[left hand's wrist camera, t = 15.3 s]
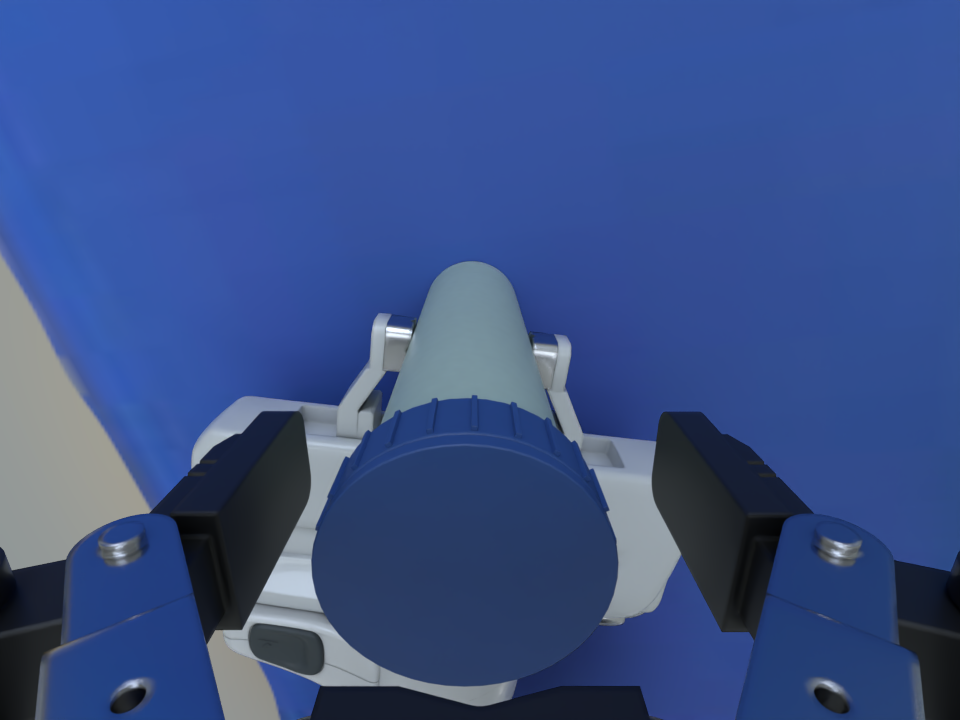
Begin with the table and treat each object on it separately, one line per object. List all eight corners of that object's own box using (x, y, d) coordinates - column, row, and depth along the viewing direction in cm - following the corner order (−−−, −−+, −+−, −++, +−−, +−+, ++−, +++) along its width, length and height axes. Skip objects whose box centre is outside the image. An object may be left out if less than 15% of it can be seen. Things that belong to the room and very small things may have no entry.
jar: (442, 248, 25) (379, 413, 9) (529, 278, 26) (629, 487, 9) (415, 332, 27) (317, 612, 10) (498, 359, 27) (536, 665, 11)
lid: (289, 551, 11) (256, 621, 9) (412, 341, 9) (398, 379, 8) (508, 648, 12) (513, 726, 10) (654, 473, 10) (688, 533, 9)
